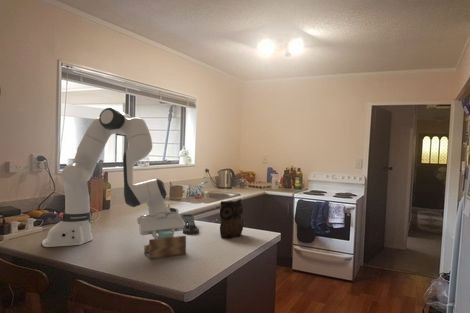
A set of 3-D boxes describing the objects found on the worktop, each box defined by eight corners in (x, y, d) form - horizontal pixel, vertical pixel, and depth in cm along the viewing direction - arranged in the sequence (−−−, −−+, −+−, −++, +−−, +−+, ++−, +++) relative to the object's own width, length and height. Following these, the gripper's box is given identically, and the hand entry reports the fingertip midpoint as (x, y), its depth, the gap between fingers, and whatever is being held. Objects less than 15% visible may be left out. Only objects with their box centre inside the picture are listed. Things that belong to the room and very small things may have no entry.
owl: (244, 234, 188) (244, 198, 187) (238, 240, 176) (239, 201, 175) (222, 232, 191) (222, 197, 191) (215, 238, 179) (215, 200, 178)
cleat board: (150, 259, 144) (150, 240, 144) (144, 253, 152) (144, 235, 152) (185, 254, 152) (186, 236, 152) (178, 248, 160) (178, 231, 160)
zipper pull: (194, 213, 212) (199, 222, 187) (194, 224, 212) (199, 234, 187) (179, 214, 209) (183, 222, 185) (179, 224, 210) (183, 235, 185)
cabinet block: (161, 252, 148) (161, 233, 148) (157, 248, 153) (157, 231, 153) (172, 250, 150) (172, 232, 150) (168, 247, 155) (168, 229, 155)
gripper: (137, 212, 153) (143, 239, 144) (181, 208, 163) (188, 233, 154) (135, 220, 157) (140, 247, 148) (177, 216, 167) (184, 241, 158)
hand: (165, 240), depth 152 cm, fingers closed on cabinet block, 5 cm apart
